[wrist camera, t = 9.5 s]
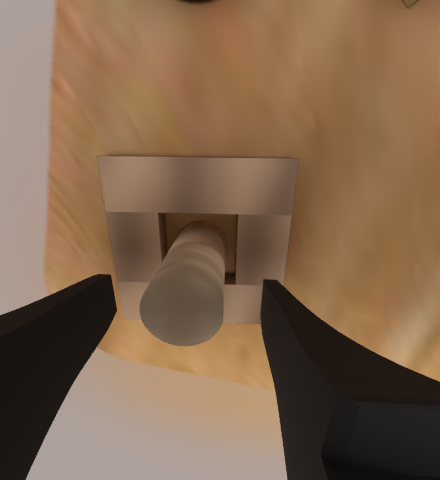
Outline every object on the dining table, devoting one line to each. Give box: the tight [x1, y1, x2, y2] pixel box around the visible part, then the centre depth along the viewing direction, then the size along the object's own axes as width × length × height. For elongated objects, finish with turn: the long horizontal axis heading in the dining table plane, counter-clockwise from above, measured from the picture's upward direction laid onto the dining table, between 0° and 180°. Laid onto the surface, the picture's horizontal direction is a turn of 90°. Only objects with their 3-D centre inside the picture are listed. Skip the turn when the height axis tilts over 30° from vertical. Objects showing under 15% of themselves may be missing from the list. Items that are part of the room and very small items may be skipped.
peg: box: [139, 221, 226, 346], centre depth 14 cm, size 4×4×8 cm
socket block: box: [97, 156, 299, 324], centre depth 17 cm, size 12×12×2 cm
